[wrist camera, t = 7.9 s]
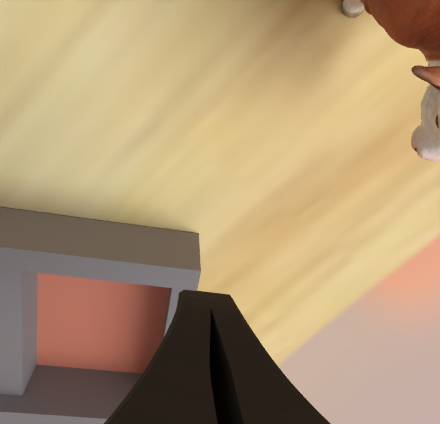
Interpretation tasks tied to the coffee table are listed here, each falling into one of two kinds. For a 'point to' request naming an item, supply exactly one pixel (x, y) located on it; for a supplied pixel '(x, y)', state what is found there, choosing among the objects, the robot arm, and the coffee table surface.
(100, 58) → the coffee table surface
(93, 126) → the coffee table surface
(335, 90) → the coffee table surface
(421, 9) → the bull figurine
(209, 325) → the robot arm
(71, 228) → the trap runway
